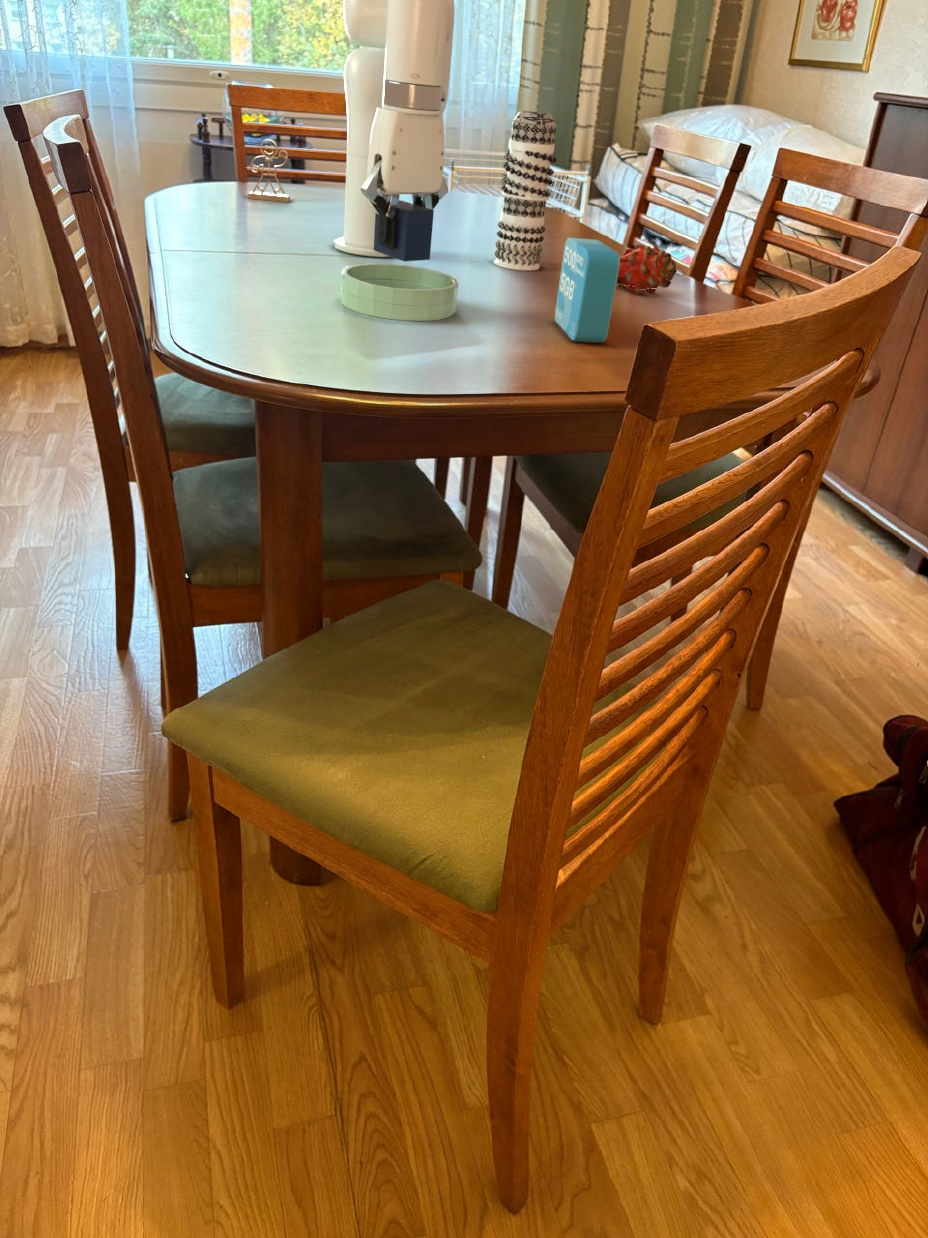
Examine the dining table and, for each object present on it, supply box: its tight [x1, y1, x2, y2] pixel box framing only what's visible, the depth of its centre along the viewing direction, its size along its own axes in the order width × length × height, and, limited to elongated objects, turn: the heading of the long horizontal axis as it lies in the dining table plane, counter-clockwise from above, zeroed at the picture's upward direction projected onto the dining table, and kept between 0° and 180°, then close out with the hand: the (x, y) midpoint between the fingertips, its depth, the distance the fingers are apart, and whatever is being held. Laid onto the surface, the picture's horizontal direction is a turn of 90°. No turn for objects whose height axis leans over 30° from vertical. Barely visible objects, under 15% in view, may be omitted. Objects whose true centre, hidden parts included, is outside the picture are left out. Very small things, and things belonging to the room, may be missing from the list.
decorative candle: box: [493, 110, 558, 271], centre depth 170 cm, size 9×9×25 cm
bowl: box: [340, 263, 459, 322], centre depth 137 cm, size 16×16×4 cm
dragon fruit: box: [616, 243, 678, 295], centre depth 165 cm, size 8×8×12 cm
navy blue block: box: [374, 200, 435, 262], centre depth 133 cm, size 5×7×6 cm, turn 42°
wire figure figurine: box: [247, 138, 291, 203], centre depth 210 cm, size 9×4×12 cm, turn 94°
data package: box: [554, 237, 620, 344], centre depth 133 cm, size 12×4×12 cm, turn 10°
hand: (402, 244), depth 134 cm, fingers closed on navy blue block, 4 cm apart
